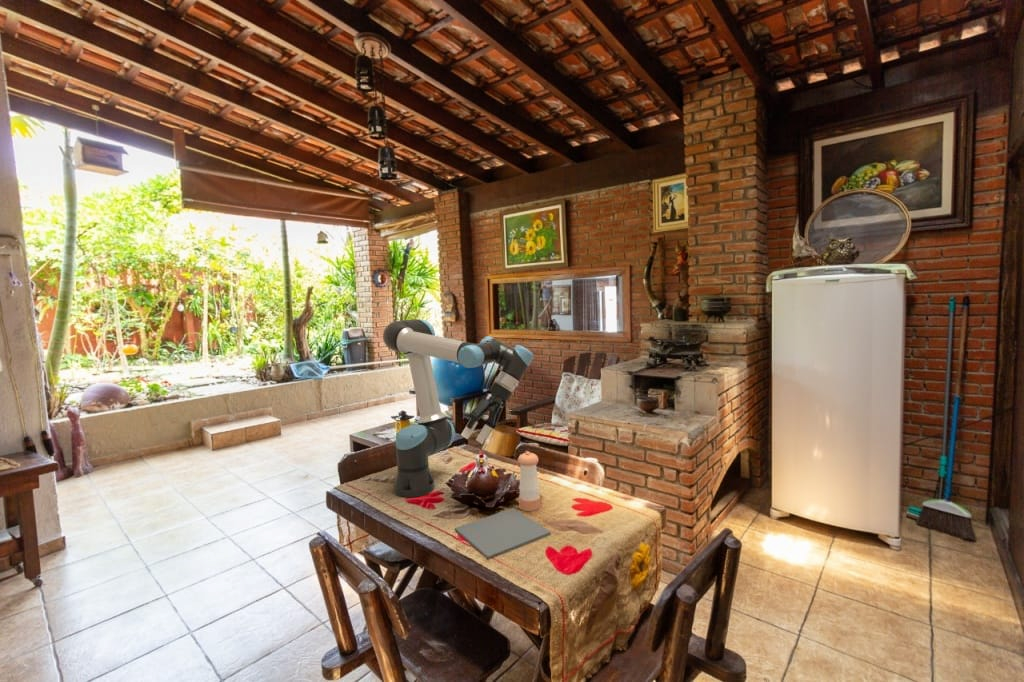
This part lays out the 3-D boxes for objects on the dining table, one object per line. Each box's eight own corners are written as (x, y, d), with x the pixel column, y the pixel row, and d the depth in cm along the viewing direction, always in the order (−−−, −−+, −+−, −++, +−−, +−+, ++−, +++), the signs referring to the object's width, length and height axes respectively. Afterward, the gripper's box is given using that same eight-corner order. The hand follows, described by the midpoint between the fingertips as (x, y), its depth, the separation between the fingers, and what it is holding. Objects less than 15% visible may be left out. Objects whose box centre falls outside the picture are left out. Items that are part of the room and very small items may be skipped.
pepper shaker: (540, 510, 153) (539, 455, 152) (519, 511, 154) (517, 455, 152) (539, 501, 161) (538, 448, 159) (519, 501, 161) (517, 448, 159)
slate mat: (454, 530, 143) (454, 527, 142) (513, 510, 155) (513, 507, 155) (488, 559, 126) (487, 556, 126) (550, 534, 138) (550, 531, 138)
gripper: (500, 383, 148) (466, 440, 146) (522, 399, 171) (492, 449, 168) (482, 372, 151) (448, 428, 149) (506, 389, 174) (476, 438, 171)
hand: (471, 439), depth 158 cm, fingers open, 13 cm apart
